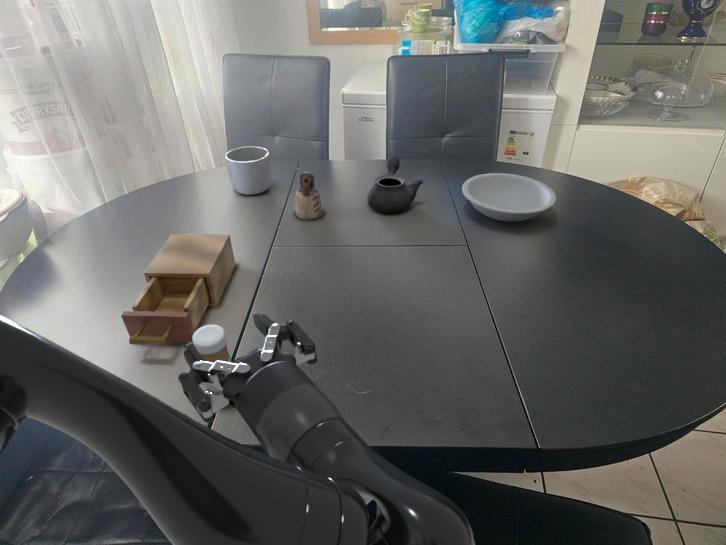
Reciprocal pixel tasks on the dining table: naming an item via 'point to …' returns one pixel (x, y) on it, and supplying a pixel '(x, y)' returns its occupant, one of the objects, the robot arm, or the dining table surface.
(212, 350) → the sprinkles bottle
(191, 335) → the drawer
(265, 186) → the planter
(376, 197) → the teapot
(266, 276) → the dining table surface
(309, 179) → the figurine
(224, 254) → the cabinet
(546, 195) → the soup bowl
